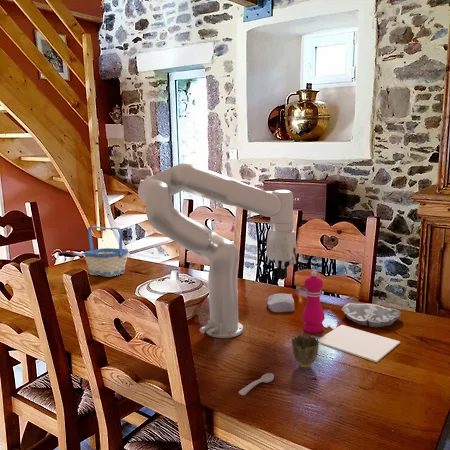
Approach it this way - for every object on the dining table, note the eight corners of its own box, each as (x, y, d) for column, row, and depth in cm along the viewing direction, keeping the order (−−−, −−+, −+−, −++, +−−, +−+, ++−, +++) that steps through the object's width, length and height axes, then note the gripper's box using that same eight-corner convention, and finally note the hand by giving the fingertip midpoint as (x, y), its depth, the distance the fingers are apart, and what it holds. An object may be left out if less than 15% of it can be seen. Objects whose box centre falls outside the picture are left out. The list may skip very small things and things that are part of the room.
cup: (320, 362, 129) (320, 336, 127) (316, 375, 122) (317, 347, 120) (294, 358, 131) (294, 333, 130) (289, 371, 124) (289, 344, 123)
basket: (134, 272, 222) (131, 225, 217) (110, 282, 208) (106, 232, 203) (104, 267, 232) (100, 222, 228) (79, 276, 218) (74, 228, 214)
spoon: (277, 379, 121) (276, 373, 120) (244, 400, 113) (244, 393, 113) (268, 375, 123) (268, 369, 122) (236, 396, 115) (236, 389, 115)
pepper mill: (319, 335, 146) (320, 276, 142) (298, 330, 150) (299, 272, 146) (327, 327, 152) (328, 270, 148) (307, 323, 156) (307, 267, 152)
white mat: (376, 362, 128) (376, 360, 128) (315, 342, 141) (315, 340, 141) (400, 343, 139) (400, 341, 139) (341, 326, 153) (341, 324, 153)
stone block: (270, 317, 167) (297, 311, 166) (267, 305, 166) (294, 299, 166) (268, 306, 179) (292, 301, 178) (265, 295, 178) (290, 289, 177)
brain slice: (337, 326, 154) (337, 317, 153) (346, 308, 169) (346, 300, 168) (398, 334, 146) (398, 326, 145) (402, 315, 161) (402, 307, 160)
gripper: (257, 226, 156) (258, 277, 159) (293, 231, 146) (293, 285, 149) (271, 222, 161) (271, 272, 165) (306, 227, 151) (306, 279, 154)
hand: (282, 278), depth 157 cm, fingers closed
